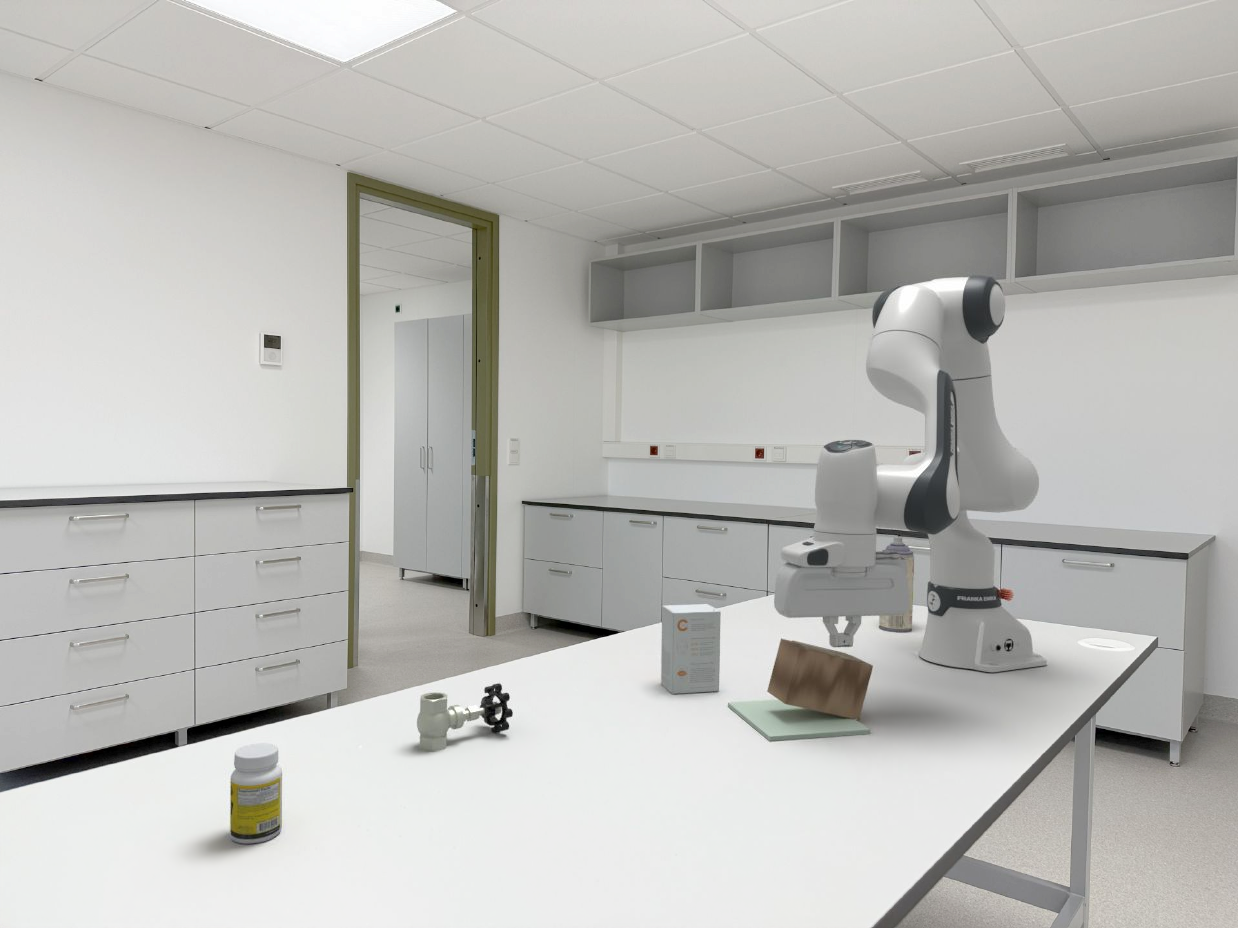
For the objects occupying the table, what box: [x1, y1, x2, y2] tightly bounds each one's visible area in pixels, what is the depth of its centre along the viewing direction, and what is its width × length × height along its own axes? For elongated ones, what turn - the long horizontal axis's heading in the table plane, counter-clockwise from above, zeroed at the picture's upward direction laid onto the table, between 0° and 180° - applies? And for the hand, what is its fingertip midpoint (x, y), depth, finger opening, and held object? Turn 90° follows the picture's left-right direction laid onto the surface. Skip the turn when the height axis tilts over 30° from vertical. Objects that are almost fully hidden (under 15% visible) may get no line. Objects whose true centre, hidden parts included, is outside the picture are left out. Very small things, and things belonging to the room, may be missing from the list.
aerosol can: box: [878, 536, 915, 633], centre depth 185 cm, size 7×7×20 cm
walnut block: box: [766, 638, 874, 721], centre depth 123 cm, size 8×6×12 cm
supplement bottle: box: [229, 742, 283, 845], centre depth 84 cm, size 5×5×8 cm
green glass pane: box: [727, 699, 871, 742], centre depth 122 cm, size 15×15×1 cm
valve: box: [416, 682, 514, 753], centre depth 111 cm, size 7×7×12 cm
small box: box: [660, 603, 721, 695], centre depth 137 cm, size 8×6×13 cm
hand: (841, 646), depth 124 cm, fingers closed
